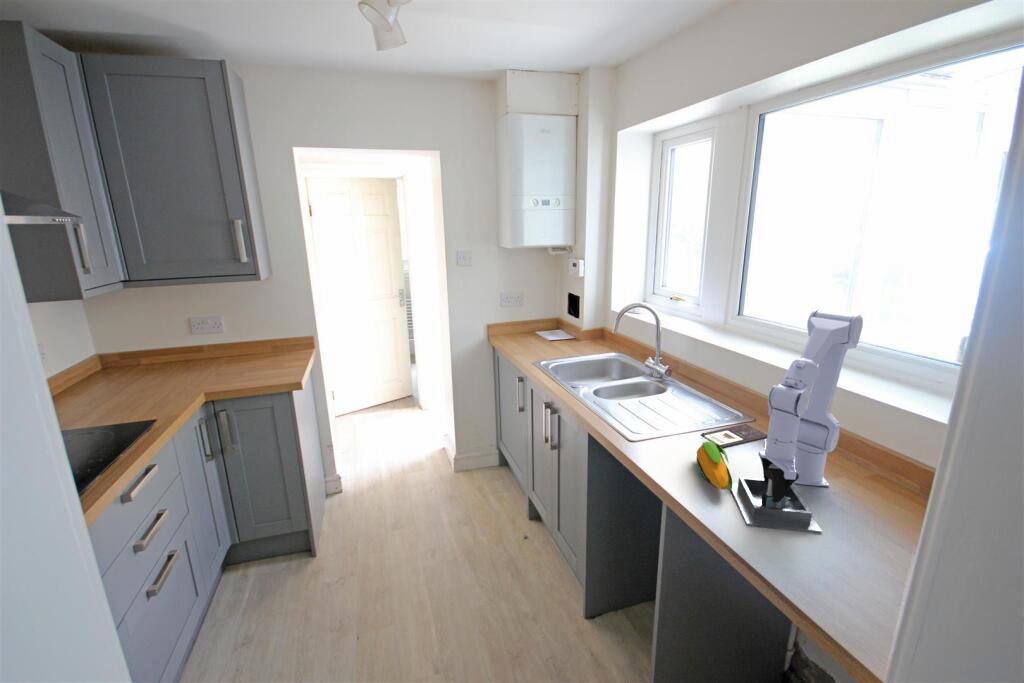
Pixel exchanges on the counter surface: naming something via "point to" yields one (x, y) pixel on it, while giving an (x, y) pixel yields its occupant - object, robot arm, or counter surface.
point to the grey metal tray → (768, 517)
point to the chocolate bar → (734, 435)
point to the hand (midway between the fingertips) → (773, 489)
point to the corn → (714, 465)
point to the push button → (768, 497)
